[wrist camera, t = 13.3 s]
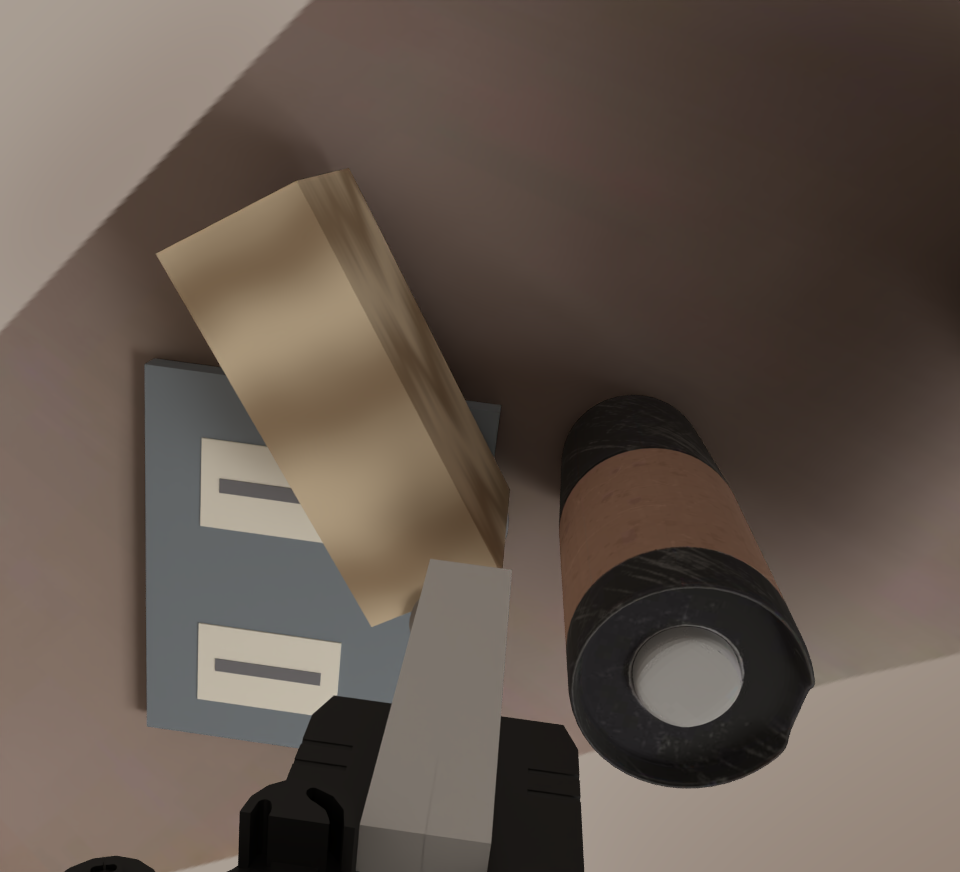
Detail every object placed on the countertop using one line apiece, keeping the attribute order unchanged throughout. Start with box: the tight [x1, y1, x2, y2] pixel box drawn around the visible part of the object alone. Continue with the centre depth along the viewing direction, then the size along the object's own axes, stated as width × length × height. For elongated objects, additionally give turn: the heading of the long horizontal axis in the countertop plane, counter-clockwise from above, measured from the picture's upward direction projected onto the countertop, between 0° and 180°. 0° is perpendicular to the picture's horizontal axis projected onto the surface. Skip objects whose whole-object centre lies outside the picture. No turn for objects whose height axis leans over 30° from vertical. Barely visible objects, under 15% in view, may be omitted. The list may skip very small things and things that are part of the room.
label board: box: [145, 358, 509, 748], centre depth 49 cm, size 19×22×2 cm
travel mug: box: [559, 395, 815, 788], centre depth 37 cm, size 8×8×20 cm
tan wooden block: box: [156, 168, 510, 633], centre depth 39 cm, size 20×6×9 cm, turn 26°
